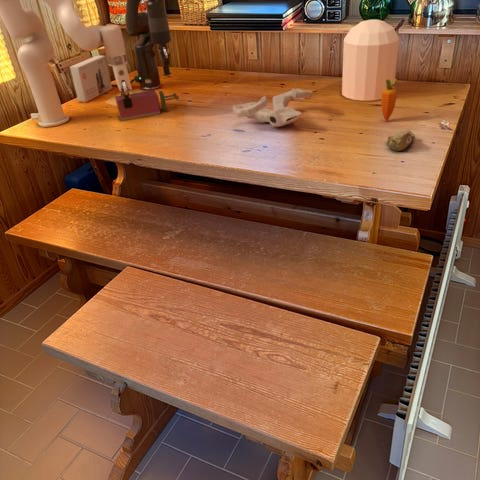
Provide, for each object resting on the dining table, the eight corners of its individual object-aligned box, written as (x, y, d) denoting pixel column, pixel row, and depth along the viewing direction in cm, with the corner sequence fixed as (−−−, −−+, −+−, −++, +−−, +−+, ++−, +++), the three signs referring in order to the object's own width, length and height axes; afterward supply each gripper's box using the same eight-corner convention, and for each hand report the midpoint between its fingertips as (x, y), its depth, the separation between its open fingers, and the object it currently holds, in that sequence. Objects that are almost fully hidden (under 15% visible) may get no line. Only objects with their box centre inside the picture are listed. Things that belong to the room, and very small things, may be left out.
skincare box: (87, 102, 214) (77, 67, 204) (78, 102, 215) (68, 66, 206) (113, 88, 229) (105, 54, 220) (104, 88, 231) (96, 54, 222)
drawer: (177, 103, 199) (175, 88, 195) (180, 107, 195) (178, 91, 191) (129, 112, 194) (125, 97, 191) (130, 116, 190) (127, 100, 187)
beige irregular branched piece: (230, 133, 167) (227, 101, 161) (244, 110, 188) (241, 81, 182) (308, 133, 161) (308, 99, 155) (313, 109, 182) (314, 78, 176)
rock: (408, 140, 153) (379, 139, 152) (414, 122, 149) (384, 120, 148) (421, 154, 144) (391, 153, 143) (428, 135, 140) (396, 133, 139)
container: (362, 104, 181) (368, 27, 165) (331, 91, 197) (333, 20, 182) (404, 93, 188) (413, 18, 172) (371, 81, 204) (376, 12, 188)
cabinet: (157, 109, 198) (154, 89, 193) (160, 113, 193) (156, 93, 188) (119, 116, 194) (115, 96, 190) (121, 120, 189) (116, 100, 185)
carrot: (394, 118, 167) (398, 76, 158) (393, 123, 163) (397, 80, 154) (379, 117, 168) (383, 75, 160) (378, 122, 165) (382, 80, 156)
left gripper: (130, 63, 174) (140, 109, 184) (124, 53, 188) (133, 97, 198) (110, 66, 172) (121, 113, 182) (105, 56, 186) (116, 101, 196)
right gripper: (172, 30, 175) (179, 77, 185) (165, 25, 185) (172, 69, 195) (153, 33, 173) (161, 80, 183) (147, 28, 184) (155, 72, 193)
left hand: (127, 104), depth 190 cm, fingers closed on cabinet, 6 cm apart
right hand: (167, 74), depth 189 cm, fingers closed
